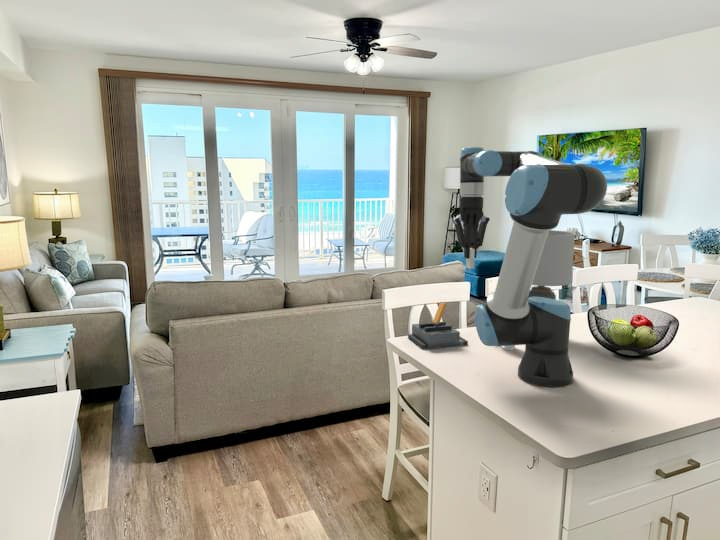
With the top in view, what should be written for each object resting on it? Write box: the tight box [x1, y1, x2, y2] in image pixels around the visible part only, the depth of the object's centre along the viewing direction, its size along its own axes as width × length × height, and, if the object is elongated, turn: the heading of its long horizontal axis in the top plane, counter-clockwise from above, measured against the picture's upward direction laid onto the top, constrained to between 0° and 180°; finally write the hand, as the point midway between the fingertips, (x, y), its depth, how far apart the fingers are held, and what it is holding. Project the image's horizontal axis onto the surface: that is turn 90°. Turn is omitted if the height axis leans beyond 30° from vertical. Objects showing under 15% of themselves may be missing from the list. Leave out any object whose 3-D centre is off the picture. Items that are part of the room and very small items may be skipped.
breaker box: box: [411, 321, 461, 350], centre depth 186 cm, size 14×12×6 cm
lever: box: [431, 301, 447, 326], centre depth 185 cm, size 3×1×9 cm, turn 16°
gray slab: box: [458, 336, 469, 347], centre depth 188 cm, size 14×3×1 cm, turn 17°
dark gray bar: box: [407, 333, 427, 350], centre depth 184 cm, size 13×1×1 cm, turn 17°
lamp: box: [527, 229, 576, 300], centre depth 190 cm, size 20×20×39 cm
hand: (470, 268), depth 173 cm, fingers closed
